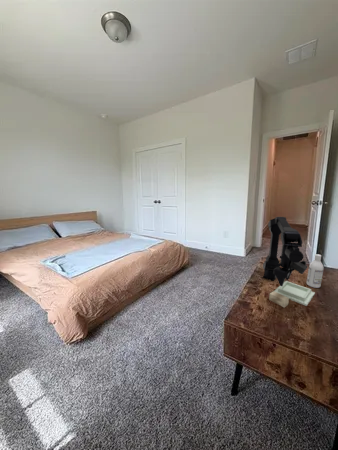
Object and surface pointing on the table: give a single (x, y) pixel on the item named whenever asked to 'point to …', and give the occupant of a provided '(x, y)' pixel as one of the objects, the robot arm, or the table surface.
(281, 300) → the peg
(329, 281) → the table surface
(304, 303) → the socket board
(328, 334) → the table surface
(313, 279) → the bath foam
